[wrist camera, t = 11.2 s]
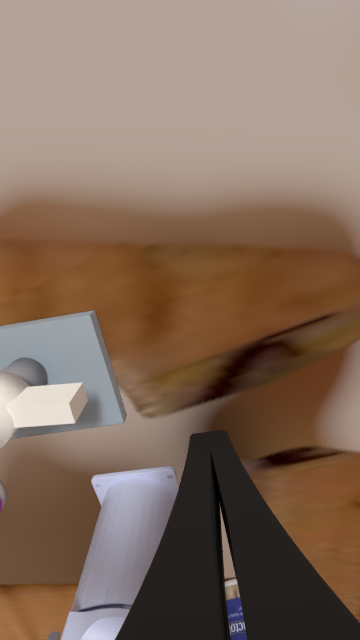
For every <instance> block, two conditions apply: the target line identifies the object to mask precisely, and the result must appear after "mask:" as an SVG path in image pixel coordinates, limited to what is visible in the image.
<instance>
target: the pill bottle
mask: <svg viewBox="0 0 360 640" xmlns="http://www.w3.org/2000/svg"><path fill="white" fill-rule="evenodd" d="M225 592H226V603H227V611H228V619H229V627H230V635H231V640H247V637H246V631H245V625H244V619H243V612H242V606H241V600H240V594H239V589H238V584H237V579H236V578H234V579H230V580H227V581H225Z"/></svg>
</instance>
